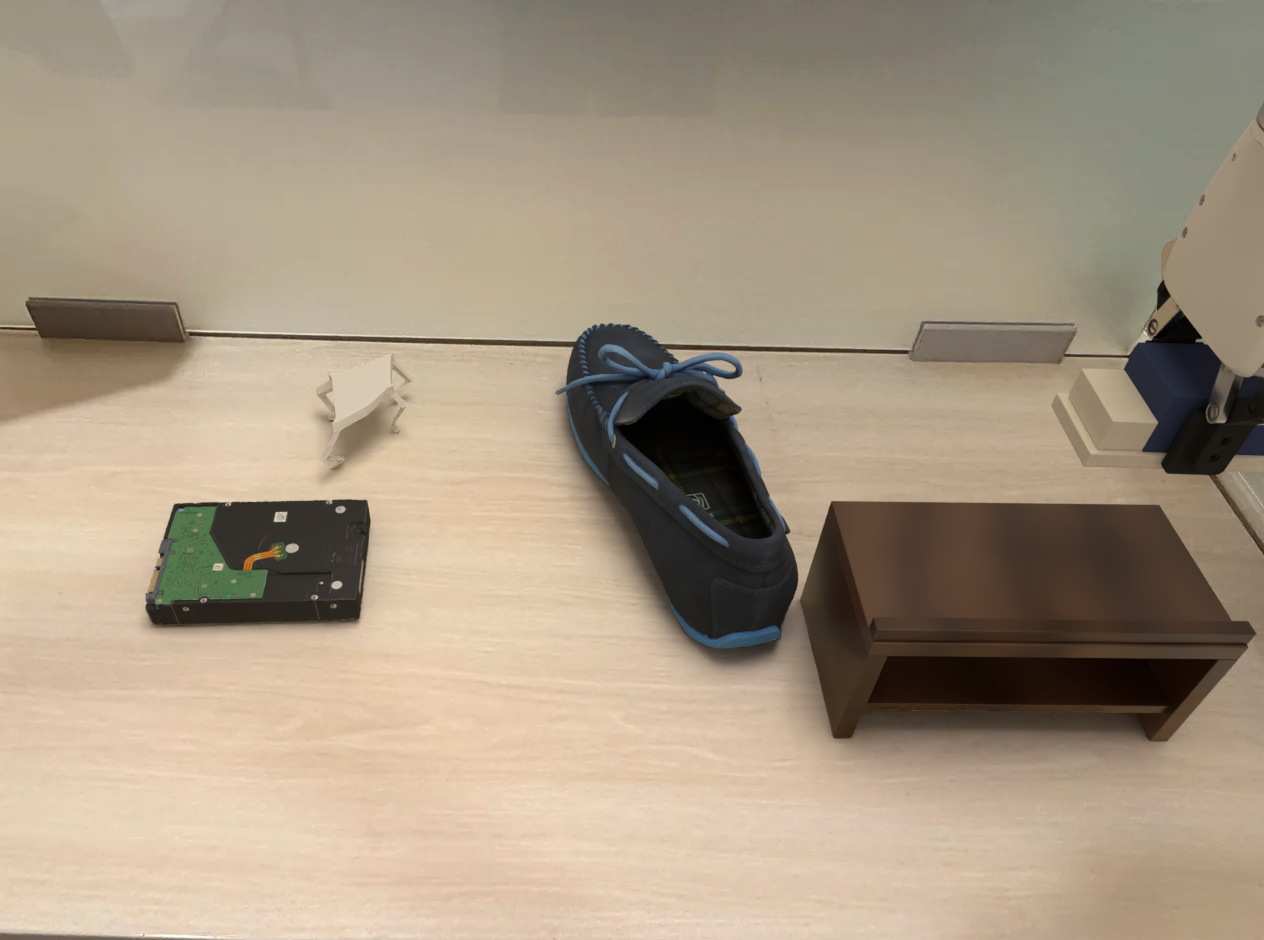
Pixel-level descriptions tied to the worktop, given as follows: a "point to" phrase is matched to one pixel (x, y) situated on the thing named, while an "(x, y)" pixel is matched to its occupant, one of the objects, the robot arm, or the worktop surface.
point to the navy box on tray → (1147, 407)
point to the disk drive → (261, 562)
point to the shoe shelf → (1013, 612)
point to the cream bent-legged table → (360, 395)
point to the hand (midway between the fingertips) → (1167, 431)
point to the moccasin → (684, 482)
